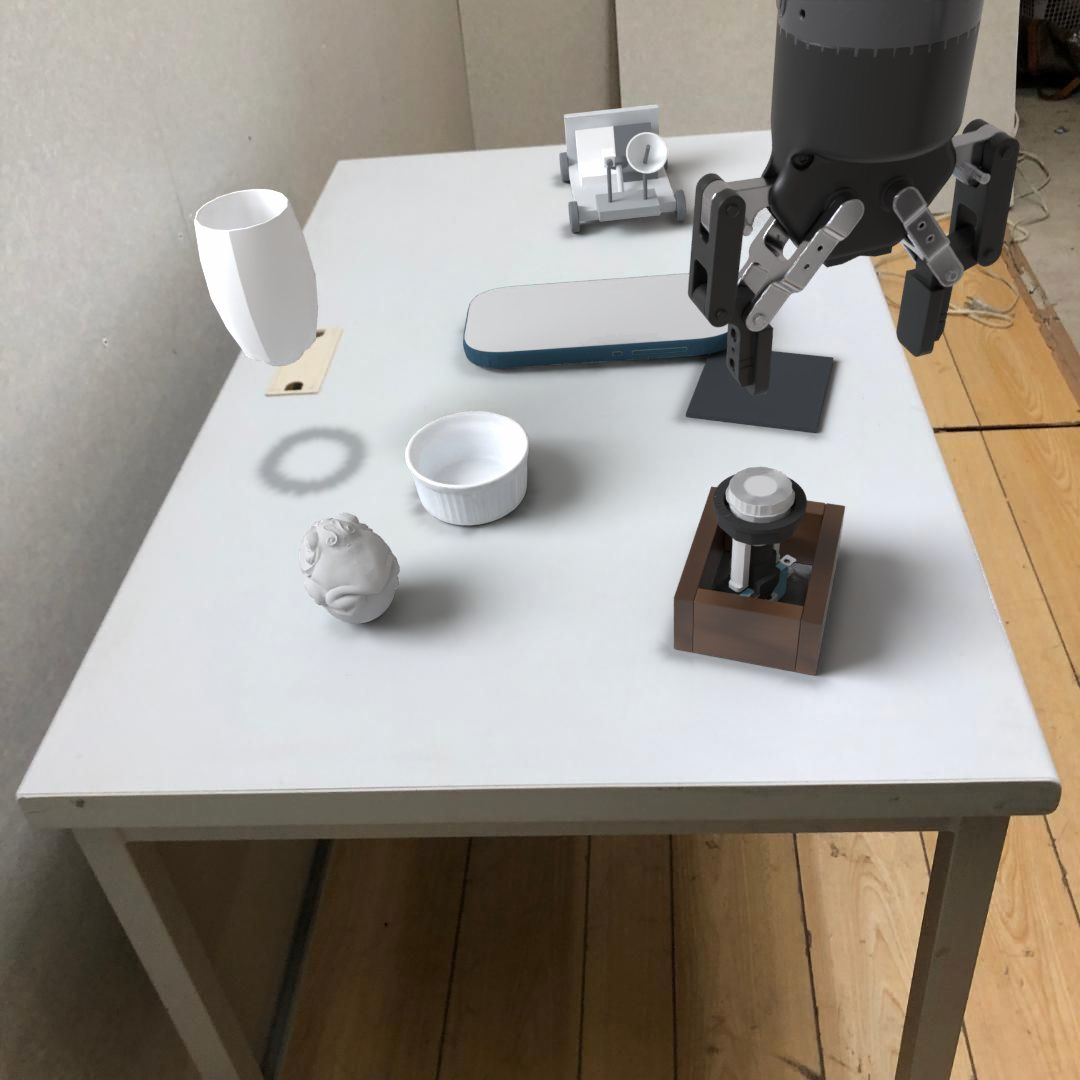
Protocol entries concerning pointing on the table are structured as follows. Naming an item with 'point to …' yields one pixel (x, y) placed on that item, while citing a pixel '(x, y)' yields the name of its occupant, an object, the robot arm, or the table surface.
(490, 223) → the table surface
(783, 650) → the holder
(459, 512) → the ramekin
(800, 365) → the mat
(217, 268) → the cup
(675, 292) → the external hard drive
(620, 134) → the toy car
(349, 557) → the frog figurine
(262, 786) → the table surface
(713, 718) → the table surface
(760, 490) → the push button
